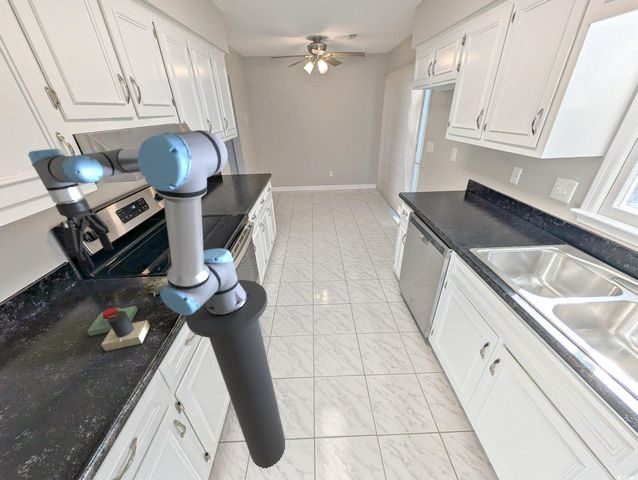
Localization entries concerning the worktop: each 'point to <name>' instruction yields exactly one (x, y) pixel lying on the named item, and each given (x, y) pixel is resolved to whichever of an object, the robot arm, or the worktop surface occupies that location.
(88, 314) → the worktop surface
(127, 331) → the dial
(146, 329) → the dial panel
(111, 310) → the switch button
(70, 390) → the worktop surface
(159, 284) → the mushroom
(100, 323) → the switch base
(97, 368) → the worktop surface
